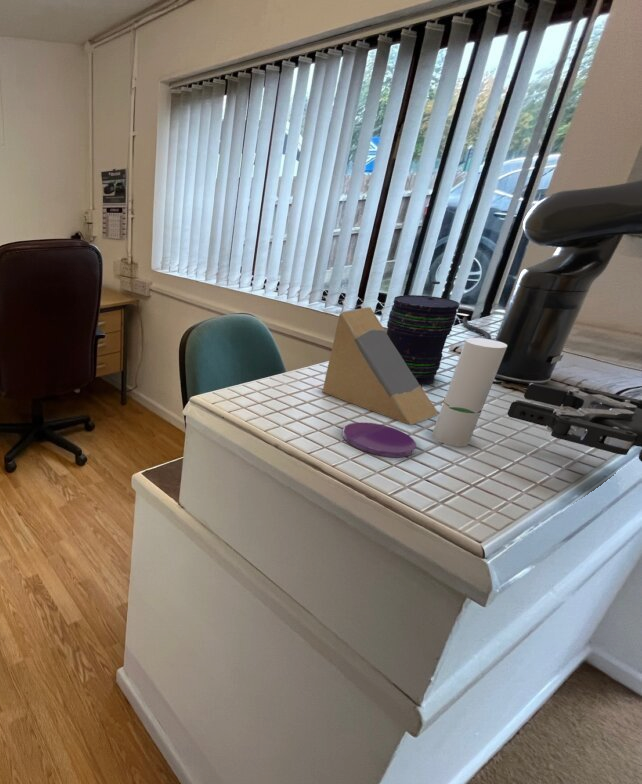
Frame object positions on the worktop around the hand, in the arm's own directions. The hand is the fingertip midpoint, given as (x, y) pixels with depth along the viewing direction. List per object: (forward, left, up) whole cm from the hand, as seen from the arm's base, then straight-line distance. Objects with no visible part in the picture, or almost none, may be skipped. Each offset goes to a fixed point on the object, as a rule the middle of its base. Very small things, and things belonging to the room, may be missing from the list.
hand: (518, 398), depth 61 cm
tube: (-2, -5, -9) cm, 10 cm away
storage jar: (-28, -10, -9) cm, 31 cm away
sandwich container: (-11, -14, -9) cm, 20 cm away
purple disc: (+4, -14, -9) cm, 17 cm away
